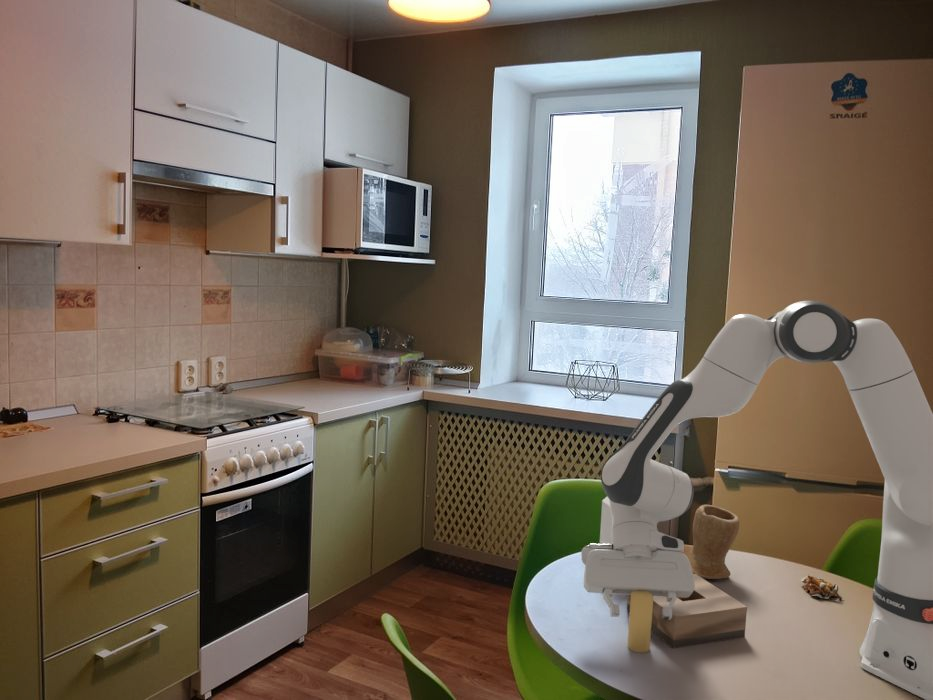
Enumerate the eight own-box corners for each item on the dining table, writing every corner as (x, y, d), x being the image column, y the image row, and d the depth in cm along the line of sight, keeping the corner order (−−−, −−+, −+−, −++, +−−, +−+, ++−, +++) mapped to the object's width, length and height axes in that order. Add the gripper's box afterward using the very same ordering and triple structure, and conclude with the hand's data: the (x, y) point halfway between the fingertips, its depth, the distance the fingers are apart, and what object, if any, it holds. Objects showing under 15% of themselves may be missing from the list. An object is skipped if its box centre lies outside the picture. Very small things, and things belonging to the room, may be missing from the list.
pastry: (820, 580, 181) (821, 565, 180) (846, 603, 169) (847, 587, 169) (790, 579, 181) (791, 564, 180) (813, 602, 169) (815, 586, 168)
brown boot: (744, 582, 177) (750, 517, 175) (694, 584, 175) (699, 518, 173) (713, 556, 192) (718, 496, 190) (666, 558, 190) (671, 497, 188)
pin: (654, 651, 144) (657, 598, 143) (635, 654, 143) (638, 600, 141) (642, 640, 148) (645, 589, 146) (623, 643, 146) (626, 591, 145)
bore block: (744, 636, 151) (747, 606, 150) (672, 648, 145) (675, 616, 145) (693, 601, 166) (695, 573, 165) (626, 610, 160) (628, 581, 160)
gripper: (582, 535, 150) (585, 607, 142) (691, 541, 150) (701, 614, 141) (579, 549, 155) (581, 620, 147) (684, 555, 155) (693, 626, 146)
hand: (641, 617), depth 144 cm, fingers open, 8 cm apart
